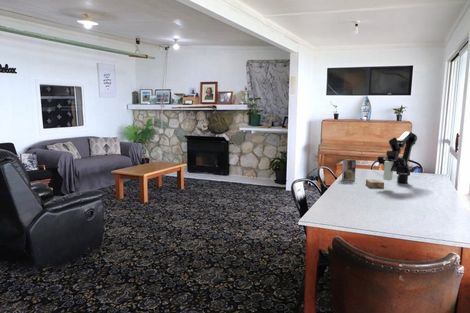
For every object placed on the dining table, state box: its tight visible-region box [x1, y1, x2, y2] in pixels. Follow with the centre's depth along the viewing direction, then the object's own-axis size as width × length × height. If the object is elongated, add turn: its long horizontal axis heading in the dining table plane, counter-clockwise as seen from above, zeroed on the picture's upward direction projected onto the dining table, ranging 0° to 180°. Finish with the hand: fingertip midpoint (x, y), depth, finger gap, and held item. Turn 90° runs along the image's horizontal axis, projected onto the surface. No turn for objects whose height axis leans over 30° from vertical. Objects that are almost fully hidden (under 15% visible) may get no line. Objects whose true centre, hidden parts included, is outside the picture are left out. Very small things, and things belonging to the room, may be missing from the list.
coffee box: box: [341, 158, 357, 181], centre depth 291 cm, size 9×6×16 cm
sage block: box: [382, 161, 394, 181], centre depth 260 cm, size 4×4×13 cm
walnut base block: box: [365, 178, 385, 189], centre depth 269 cm, size 10×10×4 cm
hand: (387, 170), depth 260 cm, fingers closed on sage block, 4 cm apart
